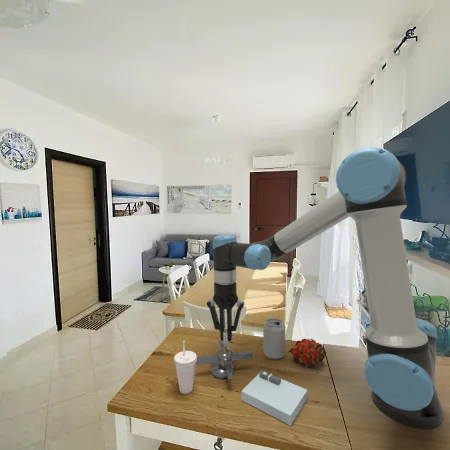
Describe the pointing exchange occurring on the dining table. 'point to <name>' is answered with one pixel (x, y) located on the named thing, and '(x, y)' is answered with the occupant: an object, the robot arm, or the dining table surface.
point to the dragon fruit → (308, 352)
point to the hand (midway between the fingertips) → (226, 349)
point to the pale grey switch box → (275, 396)
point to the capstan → (223, 361)
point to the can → (274, 338)
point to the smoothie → (185, 369)
